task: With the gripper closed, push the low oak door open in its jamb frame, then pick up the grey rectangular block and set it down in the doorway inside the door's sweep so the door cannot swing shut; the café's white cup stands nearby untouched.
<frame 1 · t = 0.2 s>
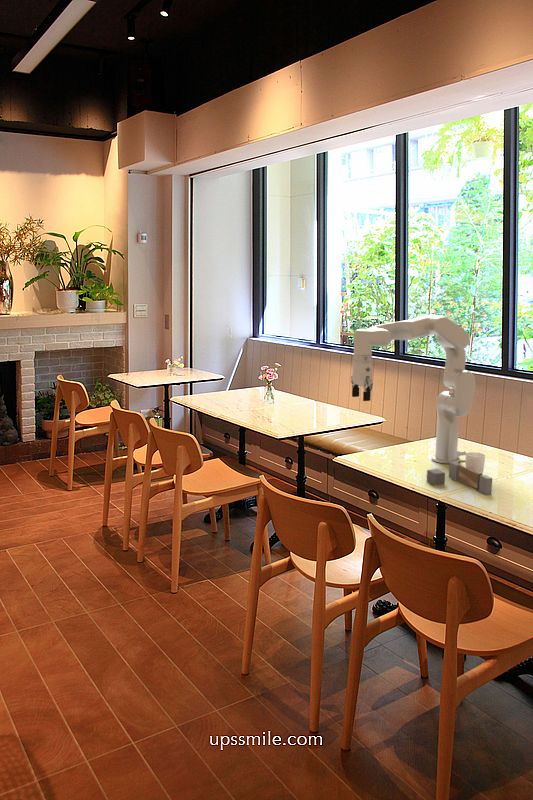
hand: (361, 398, 318), 31 cm above the table, fingers open, 9 cm apart
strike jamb: (454, 478, 312), on the table
hinge jamb: (485, 492, 293), on the table
white cup: (473, 478, 313), on the table
door: (470, 477, 302), point 3 cm above the table, hinge at 0.0°
grey rectangular block: (435, 483, 306), on the table
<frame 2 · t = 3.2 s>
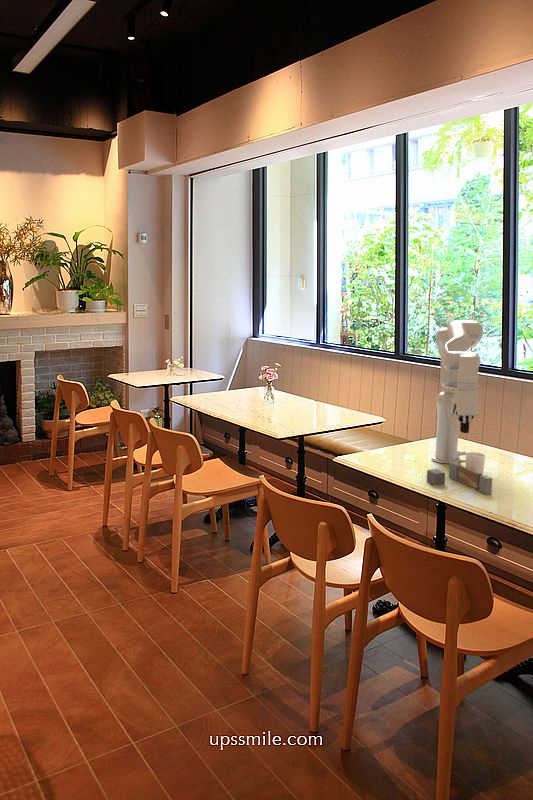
hand: (464, 432, 294), 23 cm above the table, fingers closed
nothing on the table moved.
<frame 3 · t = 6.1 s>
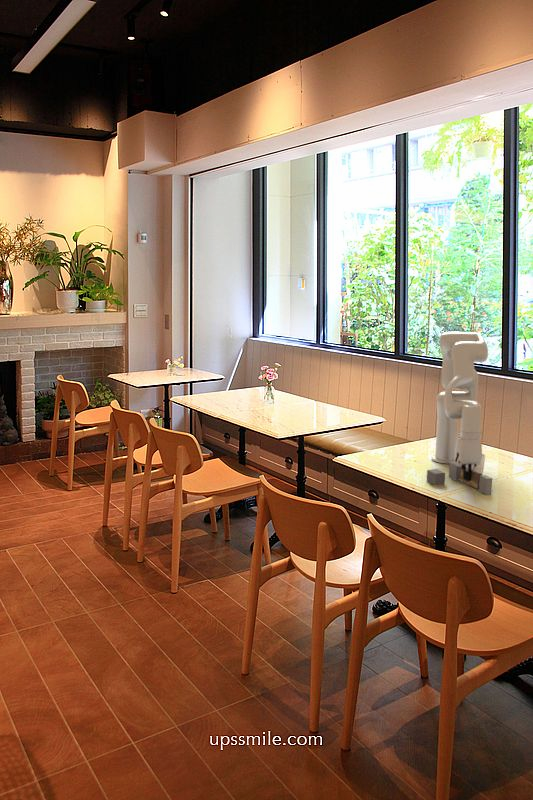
hand: (467, 479, 299), 3 cm above the table, fingers closed
door: (471, 477, 302), point 3 cm above the table, hinge at 4.3°, touching gripper
everything else where it was.
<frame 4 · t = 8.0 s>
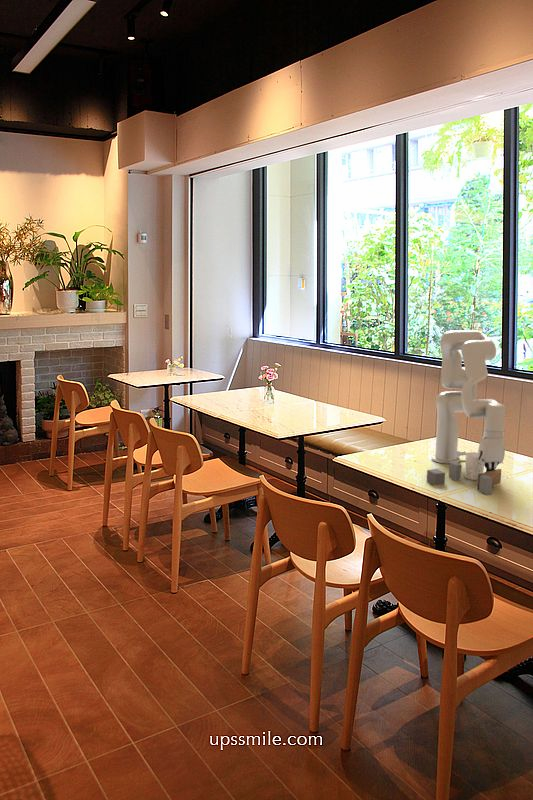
hand: (489, 477, 304), 3 cm above the table, fingers closed
door: (489, 479, 300), point 3 cm above the table, hinge at 73.5°, touching gripper
everything else where it was.
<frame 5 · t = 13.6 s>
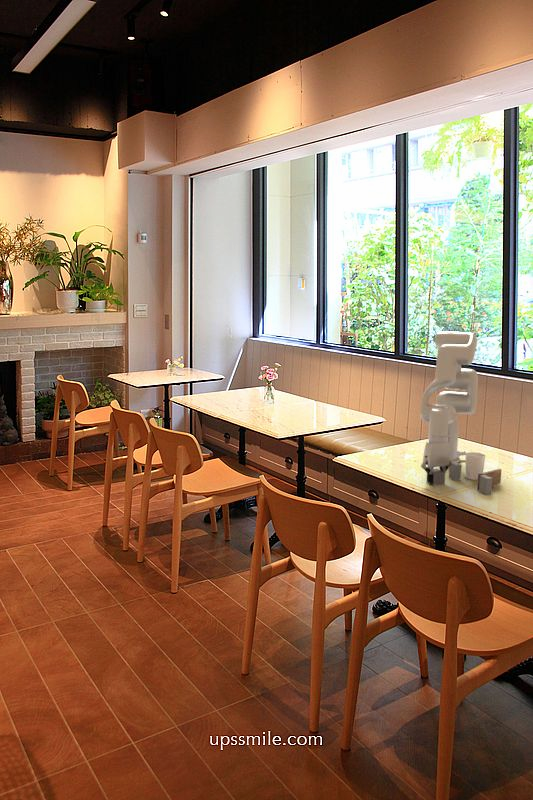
hand: (435, 481, 305), 0 cm above the table, fingers closed on grey rectangular block, 4 cm apart
door: (489, 479, 300), point 3 cm above the table, hinge at 73.5°
grey rectangular block: (435, 482, 306), on the table, touching gripper
everything else where it was.
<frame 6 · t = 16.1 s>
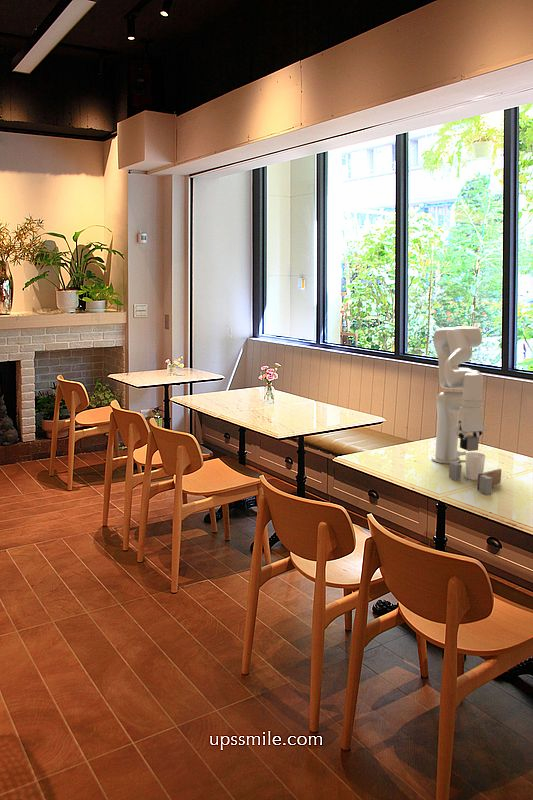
hand: (468, 447, 302), 15 cm above the table, fingers closed on grey rectangular block, 4 cm apart
grey rectangular block: (468, 448, 302), point 15 cm above the table, touching gripper
everything else where it was.
when the fingers open (2 cm above the table, at t = 18.8 s): grey rectangular block drops 1 cm, on the table.
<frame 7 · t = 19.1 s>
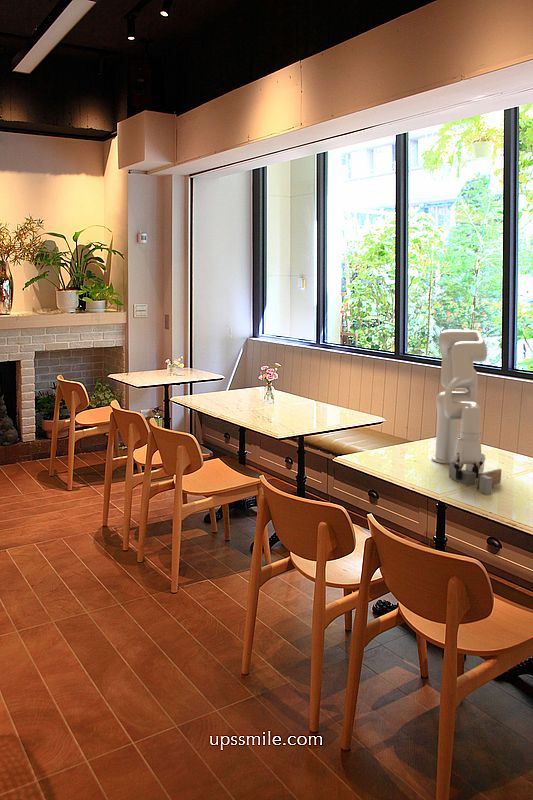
hand: (466, 478, 305), 2 cm above the table, fingers open, 7 cm apart
grey rectangular block: (466, 483, 305), on the table
everything else where it was.
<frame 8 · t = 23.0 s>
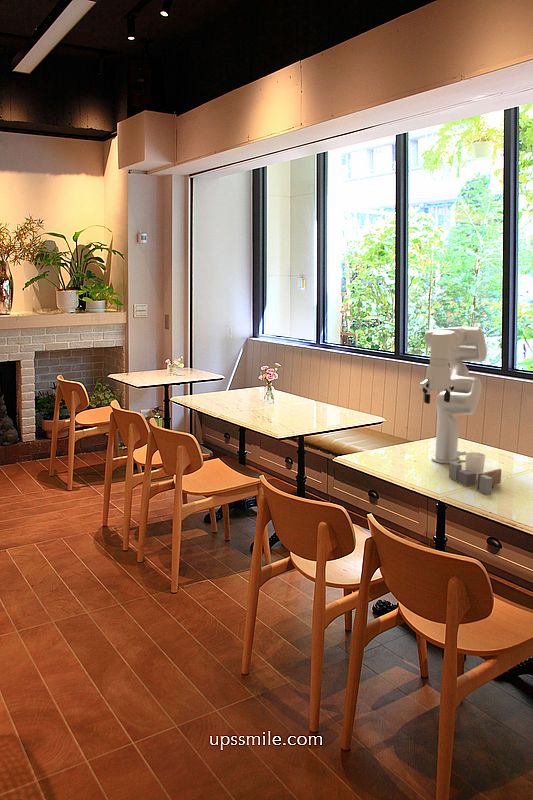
hand: (436, 402, 316), 30 cm above the table, fingers open, 9 cm apart
nothing on the table moved.
at the end: door at +74° (first picture: +0°); grey rectangular block inside the target area (0.2 cm from its centre), on the table; the gripper is holding nothing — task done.
